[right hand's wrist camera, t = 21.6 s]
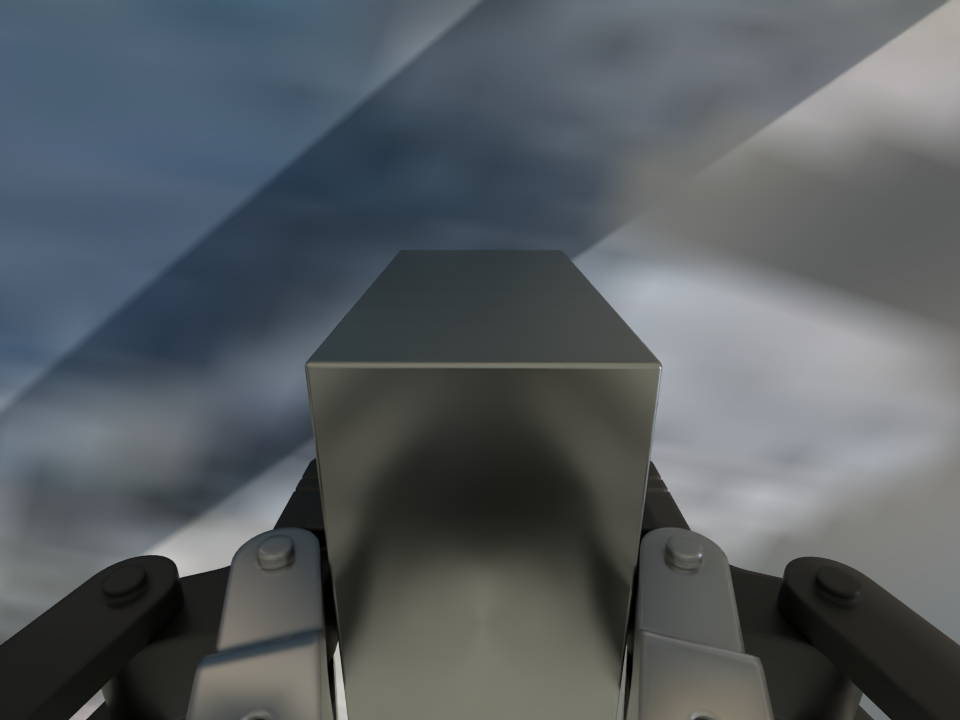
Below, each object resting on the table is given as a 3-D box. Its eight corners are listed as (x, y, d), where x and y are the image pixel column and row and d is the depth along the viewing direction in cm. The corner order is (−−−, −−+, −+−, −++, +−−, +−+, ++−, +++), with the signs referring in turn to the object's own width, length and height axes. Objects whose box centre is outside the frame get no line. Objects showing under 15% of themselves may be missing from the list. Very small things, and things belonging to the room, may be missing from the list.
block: (563, 250, 14) (665, 363, 6) (548, 508, 17) (606, 803, 9) (399, 250, 14) (302, 363, 6) (413, 508, 17) (356, 804, 9)
